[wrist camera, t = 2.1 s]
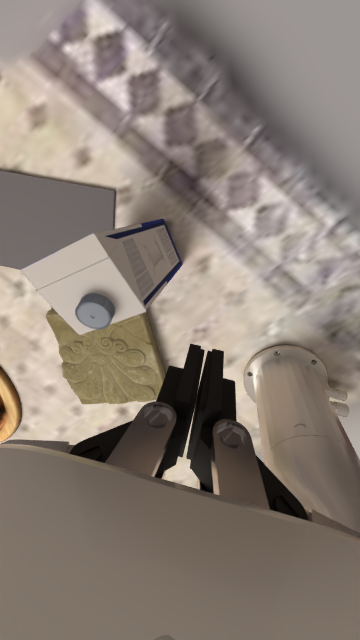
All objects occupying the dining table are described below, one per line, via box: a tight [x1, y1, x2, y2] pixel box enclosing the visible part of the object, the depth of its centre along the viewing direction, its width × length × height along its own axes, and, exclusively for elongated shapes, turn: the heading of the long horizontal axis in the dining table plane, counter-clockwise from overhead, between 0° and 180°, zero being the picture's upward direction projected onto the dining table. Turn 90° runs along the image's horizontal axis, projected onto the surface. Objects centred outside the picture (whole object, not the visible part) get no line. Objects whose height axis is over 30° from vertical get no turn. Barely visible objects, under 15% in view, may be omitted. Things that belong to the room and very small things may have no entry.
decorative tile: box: [46, 309, 166, 404], centre depth 44 cm, size 19×20×4 cm
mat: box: [0, 171, 115, 270], centre depth 38 cm, size 22×14×1 cm, turn 81°
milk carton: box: [21, 219, 182, 335], centre depth 28 cm, size 7×7×20 cm
